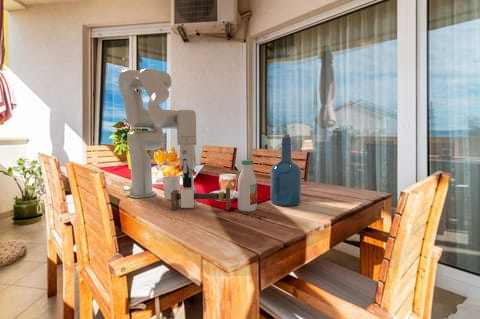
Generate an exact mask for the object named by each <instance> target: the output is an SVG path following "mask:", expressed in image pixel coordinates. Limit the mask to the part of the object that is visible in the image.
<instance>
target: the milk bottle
mask: <svg viewBox="0 0 480 319" xmlns="http://www.w3.org/2000/svg"><path fill="white" fill-rule="evenodd" d="M253 167H254V160H253V159H242V160H241V170H240V173H239V176H238V180H237V210H239V211H241V212H245V213H246V212H255V211H256V210H257V209H258V182H257V181H258V180H257V176H256V174H255V172H254V168H253Z"/></svg>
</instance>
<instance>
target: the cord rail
mask: <svg viewBox="0 0 480 319" xmlns="http://www.w3.org/2000/svg"><path fill="white" fill-rule="evenodd" d="M225 186H226V187H225V192H224V191H218V192H212V193H211V192H197V193H194V199H196V200H218V201H225V210H227V211H229V210H228V209H230V210H231V185H230V184H227V185H225ZM179 191H180V190H173V191H172V192H171V200H170V208H171V211H177V210H178V209H179V207H180V200H181V192H179Z"/></svg>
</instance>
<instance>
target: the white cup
mask: <svg viewBox="0 0 480 319" xmlns="http://www.w3.org/2000/svg"><path fill="white" fill-rule="evenodd" d="M180 182H181V177H180V176H179V175H167V176H162V188H163V195H164V200H168V201H171V192H172V191H173V190H179V193H181V189H180V187H181V185H180Z"/></svg>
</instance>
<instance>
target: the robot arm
mask: <svg viewBox="0 0 480 319" xmlns="http://www.w3.org/2000/svg"><path fill="white" fill-rule="evenodd" d="M117 83H118V89H119V92H120V94H121V96H122V98H123V104H124V110H125V114H126V120H127V123H128V126H129V127H130V128H132V129H147V130H134V131H131V132H129V134H128V135H127V137H126V142H127V147H128V150H129V152H128V153H129V160H130V161H129V162H130V176H131V177H130V178H131V180H130V181H131V186H124V187H123V192H129V193H128V197H129V198H133V199H134V198H135V199H143V198H150V197H154V196H156V194H157V193H156V190H153V170H152V158H151V156H150V154H149V153H148V151H152V150H153V151H155V150H160V149H162V148H163V146H164V143H165V138H164V131H163V130H164V129H165V130H167V129H174V130H175V129H176V136H177V138H176V141H177V142H176V143H177V144H176V145H177V146H179V168H180V171H182V174H183V182H182V188H183V187H184V188H191V176H190V173H193V170H194V169H195V168H197V159H196V158H197V157H196V156H197V155H196V147H195V146H197V113H196V111H195V110H193V109H179V110H173V109H164V108H162V107H161V105H162V104H163V103H165V102H166V101H167V100H169V97H170V91H169V89H170V88H171V86H172V78H171V75H170V74H169V73H168V72H167V71H165V70H160V69H155V68H150V67H149V68H144V69H141V70H136V69H124V70H121V72H120V73H119V75H118V82H117ZM137 90H142V91H145V92H146V94H147V95H148V97H149V100H148V102H147V103H148V104H147V109H146V108H145V106H144V101H143V100H144V99H143V98H142V96H141V95H140V94H139V92H138V91H137Z"/></svg>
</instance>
